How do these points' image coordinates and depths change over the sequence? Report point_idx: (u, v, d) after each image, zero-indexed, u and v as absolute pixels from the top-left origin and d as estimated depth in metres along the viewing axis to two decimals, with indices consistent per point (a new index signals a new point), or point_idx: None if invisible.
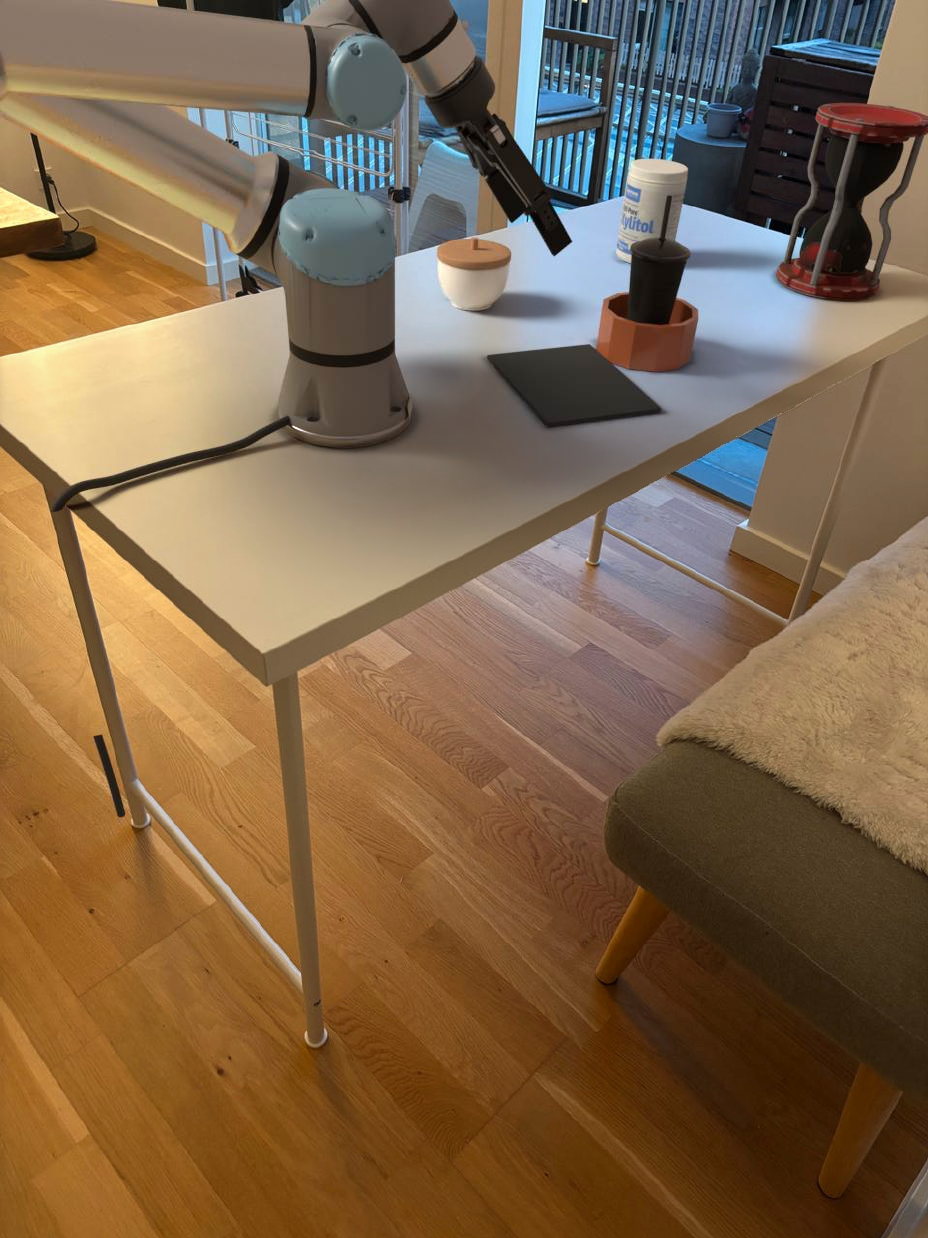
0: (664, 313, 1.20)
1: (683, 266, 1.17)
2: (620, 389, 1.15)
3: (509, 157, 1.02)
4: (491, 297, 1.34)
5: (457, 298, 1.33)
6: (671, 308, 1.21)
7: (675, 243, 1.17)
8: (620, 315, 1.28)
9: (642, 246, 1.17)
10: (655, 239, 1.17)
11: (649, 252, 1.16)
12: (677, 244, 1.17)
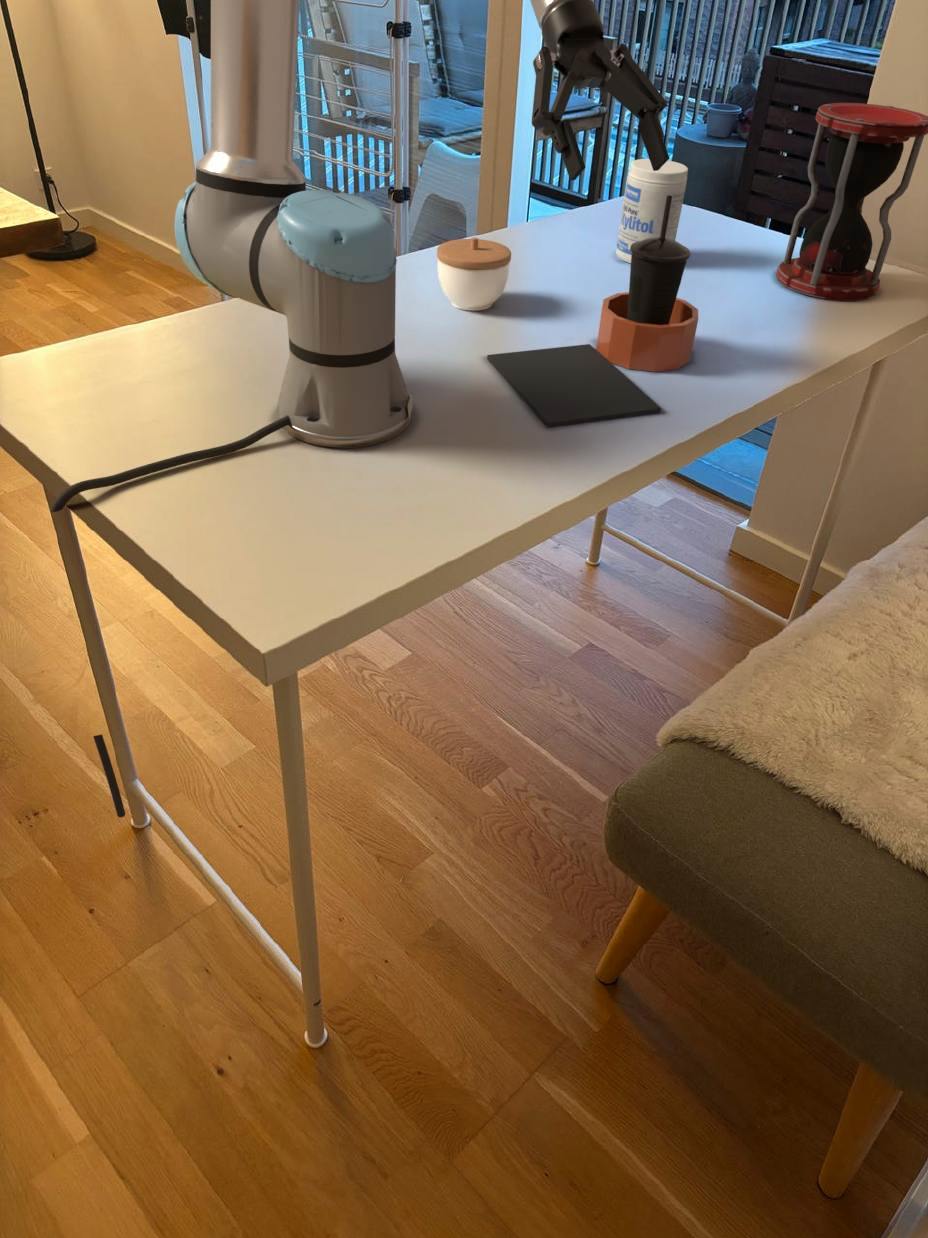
0: (664, 313, 1.20)
1: (683, 266, 1.17)
2: (620, 389, 1.15)
3: None
4: (491, 297, 1.34)
5: (457, 298, 1.33)
6: (671, 308, 1.21)
7: (675, 243, 1.17)
8: (620, 315, 1.28)
9: (642, 246, 1.17)
10: (655, 239, 1.17)
11: (649, 252, 1.16)
12: (677, 244, 1.17)
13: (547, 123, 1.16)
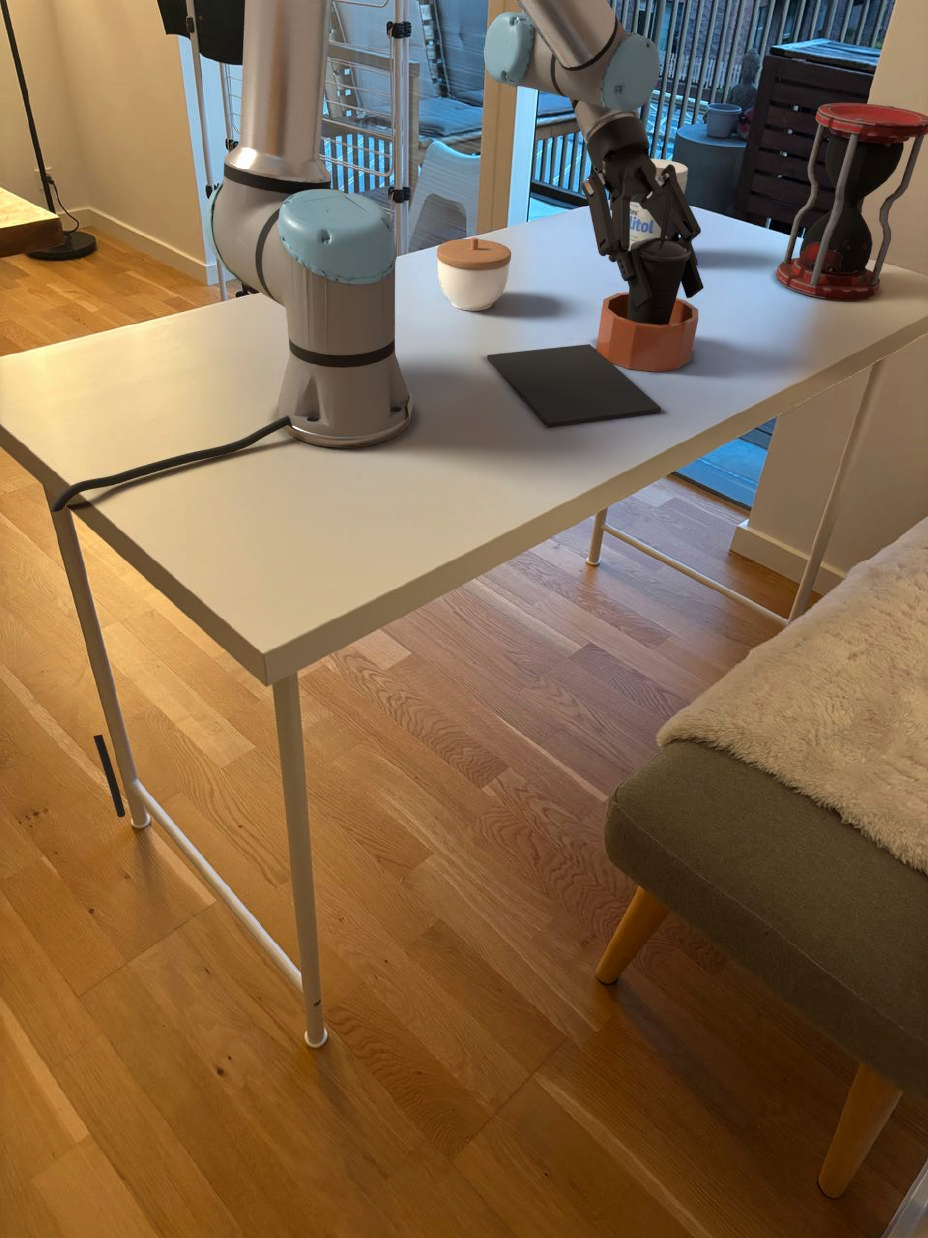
0: (664, 313, 1.20)
1: (683, 266, 1.17)
2: (620, 389, 1.15)
3: None
4: (491, 297, 1.34)
5: (457, 298, 1.33)
6: (671, 308, 1.21)
7: (675, 243, 1.17)
8: (620, 315, 1.28)
9: (642, 246, 1.17)
10: (655, 239, 1.17)
11: (649, 252, 1.16)
12: (677, 244, 1.17)
13: (614, 252, 1.16)
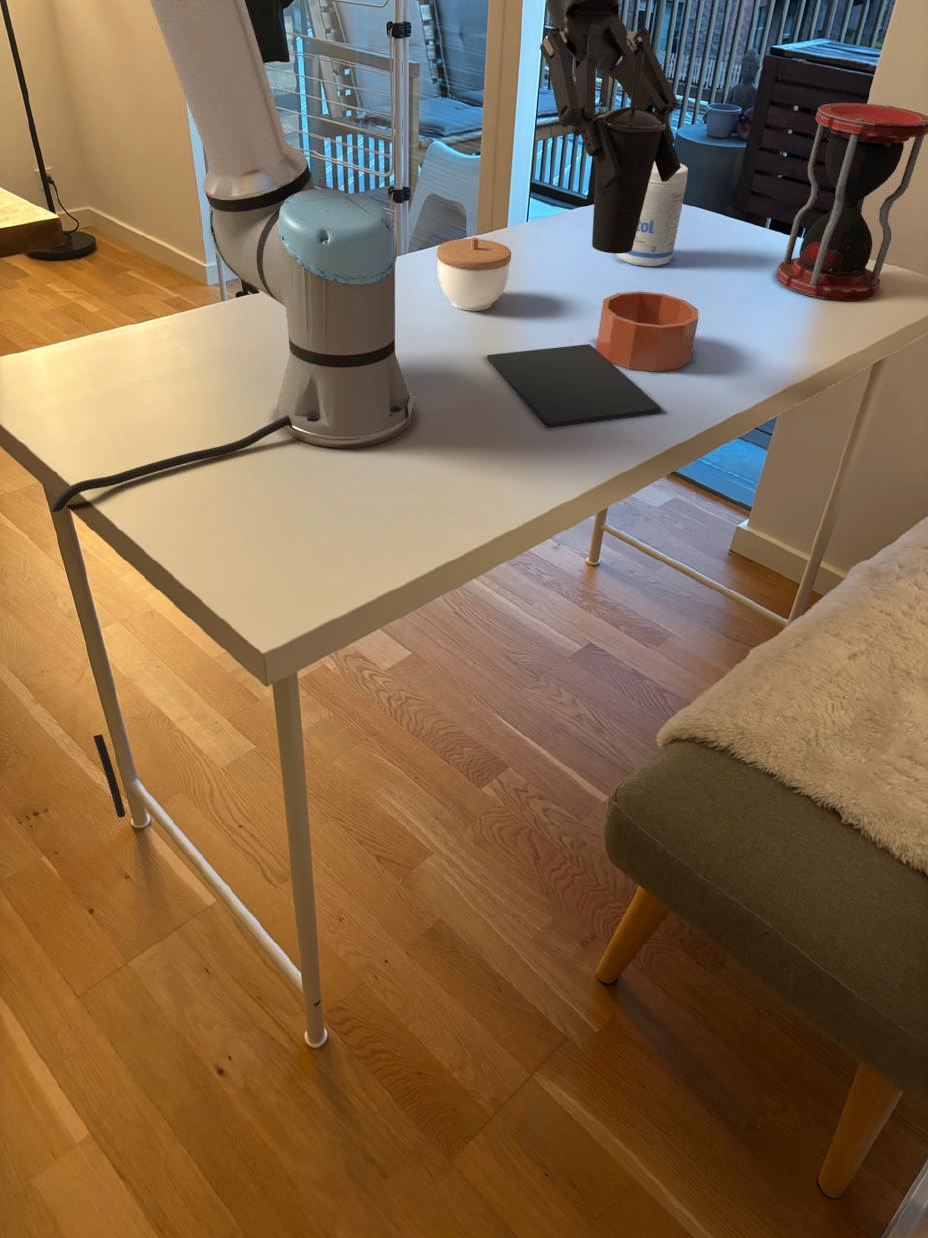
0: (635, 197, 1.05)
1: (657, 139, 1.02)
2: (620, 389, 1.15)
3: None
4: (491, 297, 1.34)
5: (457, 298, 1.33)
6: (644, 192, 1.05)
7: (648, 112, 1.01)
8: (620, 315, 1.28)
9: (610, 115, 1.01)
10: (625, 108, 1.02)
11: (617, 121, 1.00)
12: (650, 113, 1.01)
13: (577, 121, 1.01)
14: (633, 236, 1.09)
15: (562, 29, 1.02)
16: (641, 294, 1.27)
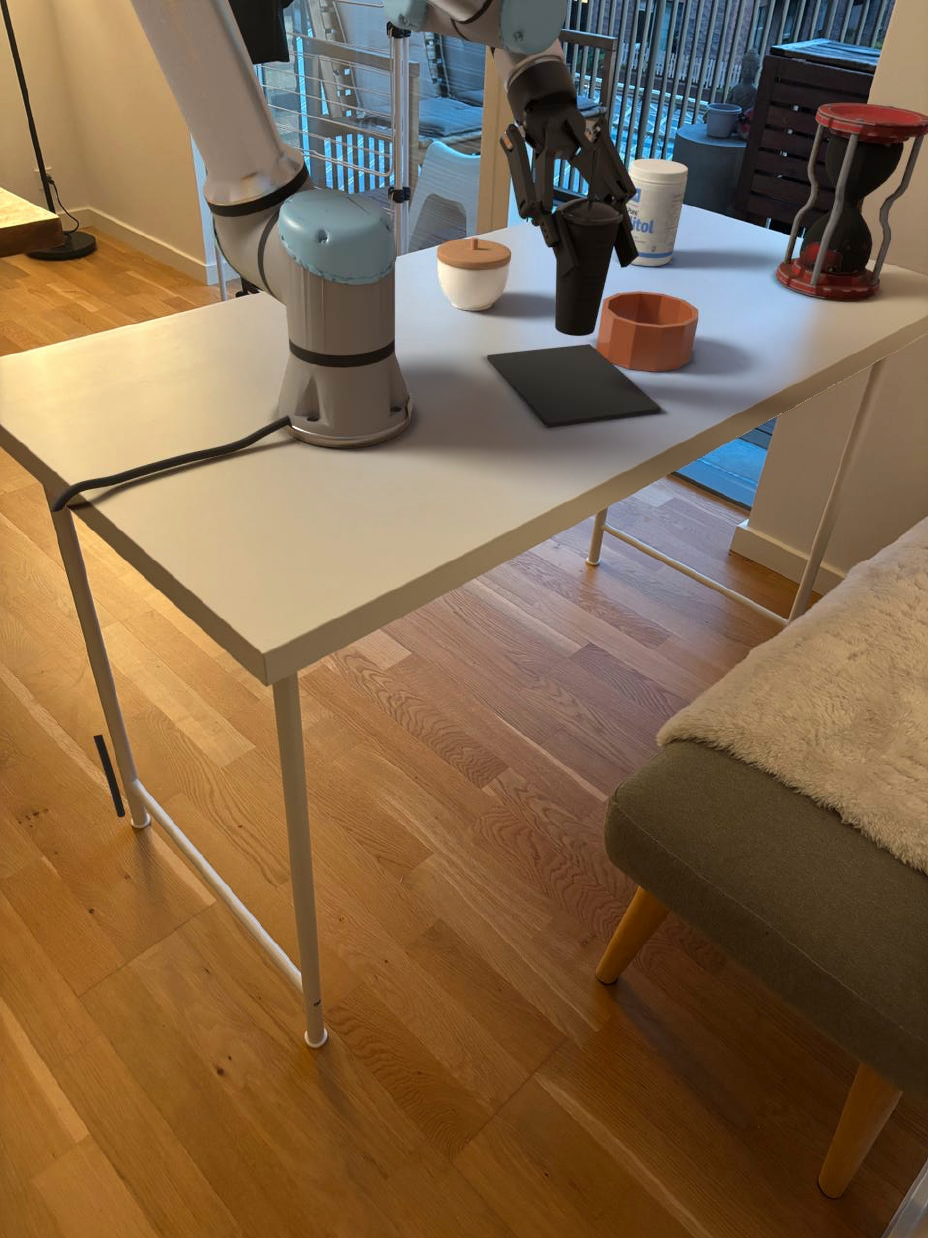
0: (595, 284, 1.07)
1: (614, 230, 1.04)
2: (620, 389, 1.15)
3: None
4: (491, 297, 1.34)
5: (457, 298, 1.33)
6: (603, 278, 1.08)
7: (605, 204, 1.04)
8: (620, 315, 1.28)
9: (568, 207, 1.03)
10: (583, 200, 1.04)
11: (575, 214, 1.02)
12: (607, 205, 1.04)
13: (536, 214, 1.03)
14: (594, 319, 1.11)
15: (521, 122, 1.05)
16: (641, 294, 1.27)
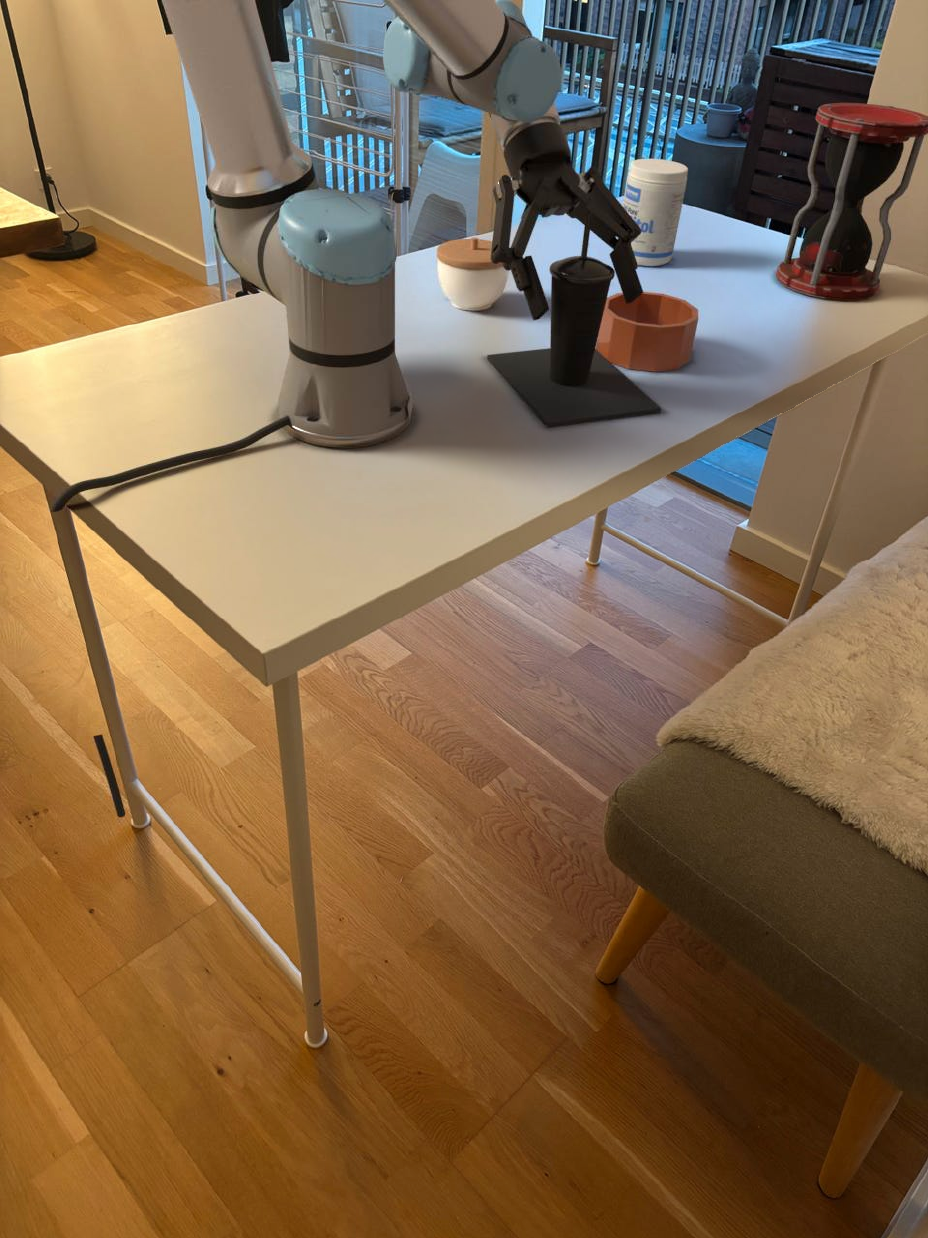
0: (588, 338, 1.11)
1: (606, 287, 1.08)
2: (620, 389, 1.15)
3: None
4: (491, 297, 1.34)
5: (457, 298, 1.33)
6: (596, 332, 1.12)
7: (597, 263, 1.08)
8: (620, 315, 1.28)
9: (562, 266, 1.08)
10: (576, 258, 1.08)
11: (568, 273, 1.07)
12: (600, 264, 1.08)
13: (507, 260, 1.06)
14: (588, 370, 1.15)
15: None
16: (641, 294, 1.27)
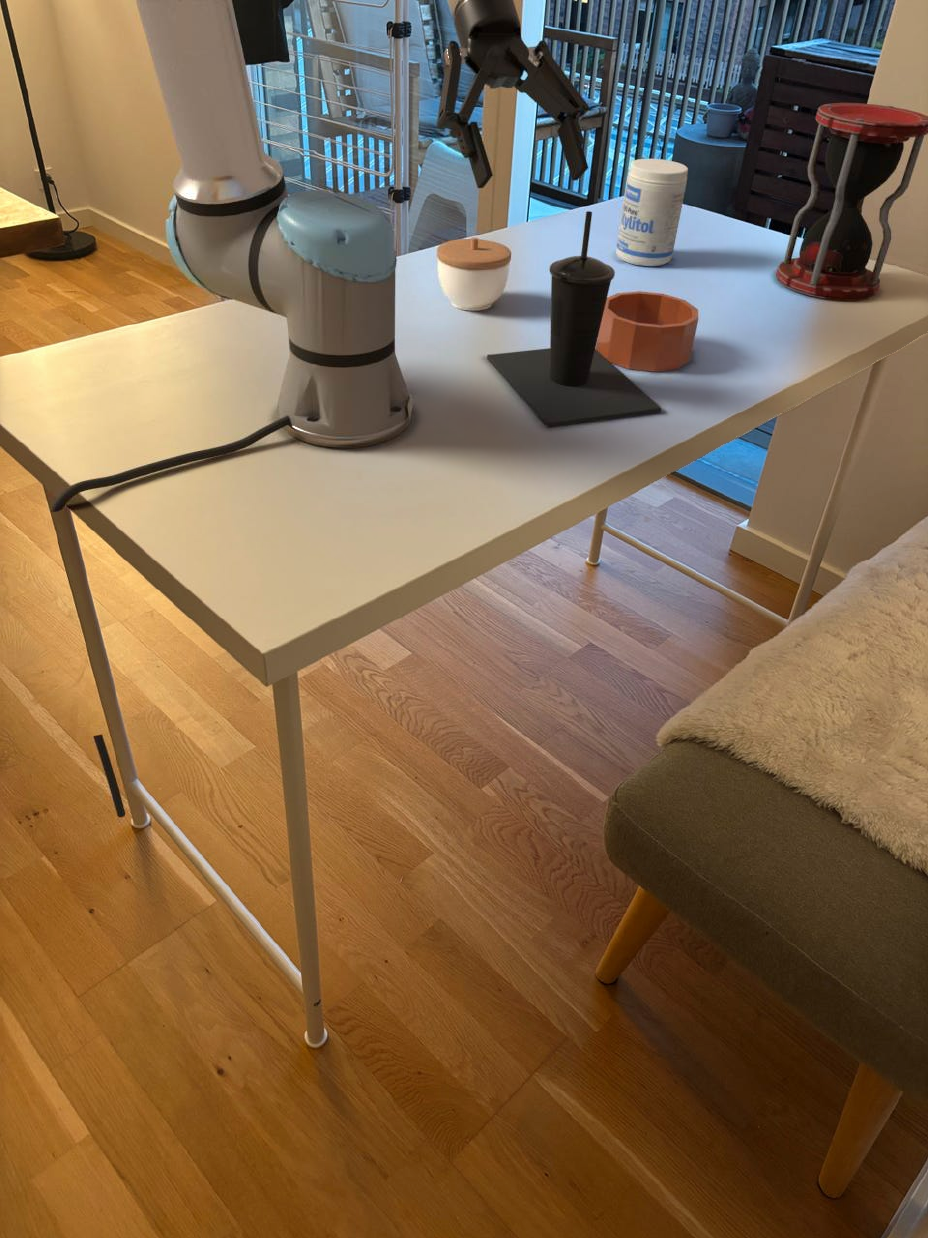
0: (588, 338, 1.11)
1: (606, 287, 1.08)
2: (620, 389, 1.15)
3: None
4: (491, 297, 1.34)
5: (457, 298, 1.33)
6: (596, 332, 1.12)
7: (597, 263, 1.08)
8: (620, 315, 1.28)
9: (561, 266, 1.08)
10: (576, 258, 1.08)
11: (568, 273, 1.07)
12: (600, 264, 1.08)
13: (453, 125, 1.07)
14: (588, 370, 1.15)
15: None
16: (641, 294, 1.27)
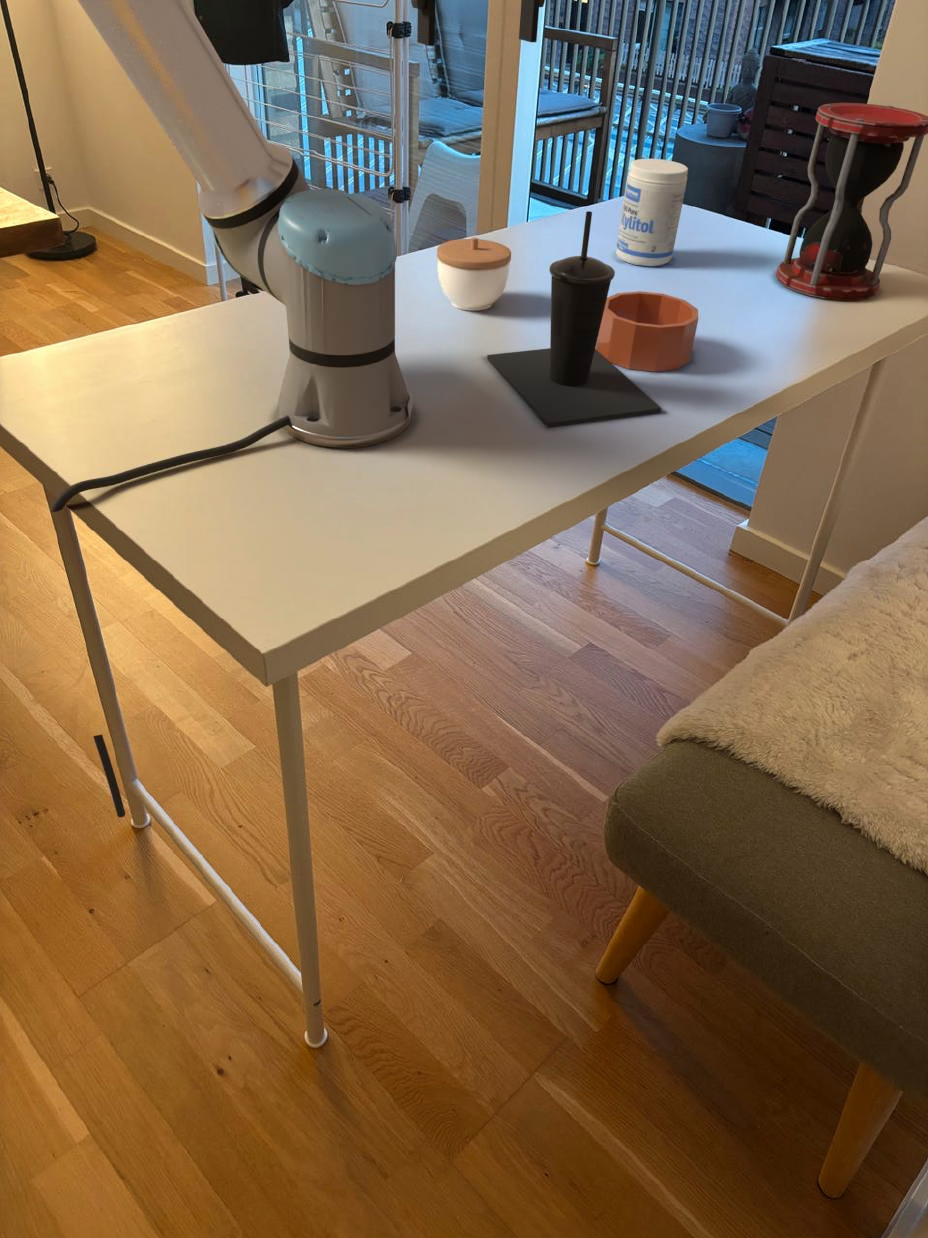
0: (588, 338, 1.11)
1: (606, 287, 1.08)
2: (620, 389, 1.15)
3: None
4: (491, 297, 1.34)
5: (457, 298, 1.33)
6: (596, 332, 1.12)
7: (597, 263, 1.08)
8: (620, 315, 1.28)
9: (561, 266, 1.08)
10: (576, 258, 1.08)
11: (568, 273, 1.07)
12: (600, 264, 1.08)
13: None
14: (588, 370, 1.15)
15: None
16: (641, 294, 1.27)
